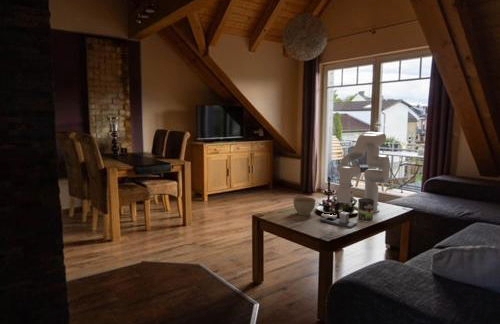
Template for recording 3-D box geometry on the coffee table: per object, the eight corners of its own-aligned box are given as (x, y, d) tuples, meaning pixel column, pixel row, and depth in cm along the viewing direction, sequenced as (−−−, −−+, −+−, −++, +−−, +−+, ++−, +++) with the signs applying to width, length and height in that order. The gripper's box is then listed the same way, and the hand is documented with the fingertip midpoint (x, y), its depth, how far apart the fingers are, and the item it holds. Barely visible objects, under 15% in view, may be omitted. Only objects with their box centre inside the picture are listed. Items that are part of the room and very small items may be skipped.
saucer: (326, 212, 267) (326, 211, 267) (339, 215, 260) (339, 214, 260) (318, 216, 259) (318, 215, 259) (331, 219, 252) (331, 218, 252)
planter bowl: (308, 218, 254) (309, 203, 252) (288, 214, 263) (289, 200, 261) (319, 213, 266) (319, 199, 264) (299, 209, 276) (300, 195, 274)
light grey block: (342, 223, 244) (342, 211, 243) (348, 224, 241) (349, 212, 240) (339, 224, 241) (339, 213, 240) (345, 226, 238) (345, 214, 237)
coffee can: (375, 221, 247) (376, 201, 245) (361, 222, 245) (362, 202, 243) (368, 217, 257) (369, 197, 255) (354, 218, 255) (355, 198, 253)
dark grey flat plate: (327, 218, 254) (327, 216, 254) (356, 225, 240) (356, 223, 239) (320, 221, 248) (320, 219, 248) (350, 228, 233) (350, 226, 233)
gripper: (360, 186, 234) (358, 212, 236) (336, 182, 245) (335, 207, 248) (354, 188, 228) (353, 214, 231) (330, 184, 240) (329, 209, 242)
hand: (343, 210), depth 239 cm, fingers open, 9 cm apart
